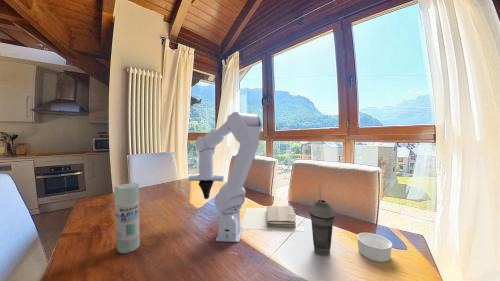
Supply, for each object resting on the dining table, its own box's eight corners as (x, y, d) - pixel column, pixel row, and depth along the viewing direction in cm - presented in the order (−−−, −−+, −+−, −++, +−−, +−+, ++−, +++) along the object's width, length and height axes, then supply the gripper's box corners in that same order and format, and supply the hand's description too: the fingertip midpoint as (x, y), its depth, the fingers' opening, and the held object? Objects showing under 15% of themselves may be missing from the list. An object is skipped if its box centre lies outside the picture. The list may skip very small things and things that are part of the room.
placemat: (304, 231, 71) (304, 231, 71) (240, 229, 73) (240, 228, 73) (296, 209, 92) (296, 209, 92) (246, 208, 94) (246, 207, 94)
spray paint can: (135, 239, 66) (134, 182, 66) (143, 246, 62) (142, 185, 62) (113, 248, 61) (111, 186, 61) (120, 256, 57) (118, 189, 57)
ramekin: (350, 246, 61) (350, 232, 61) (377, 244, 62) (377, 231, 62) (369, 264, 53) (369, 249, 52) (400, 263, 53) (400, 247, 53)
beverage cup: (318, 260, 54) (318, 190, 54) (304, 246, 61) (304, 184, 61) (340, 256, 56) (340, 188, 56) (324, 242, 63) (324, 182, 63)
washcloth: (266, 228, 73) (266, 220, 73) (266, 210, 91) (266, 203, 91) (298, 229, 72) (298, 221, 72) (291, 210, 90) (291, 204, 90)
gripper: (225, 164, 83) (225, 195, 84) (193, 164, 85) (193, 194, 85) (221, 167, 76) (221, 201, 77) (186, 167, 78) (186, 200, 78)
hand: (206, 198), depth 81 cm, fingers closed
